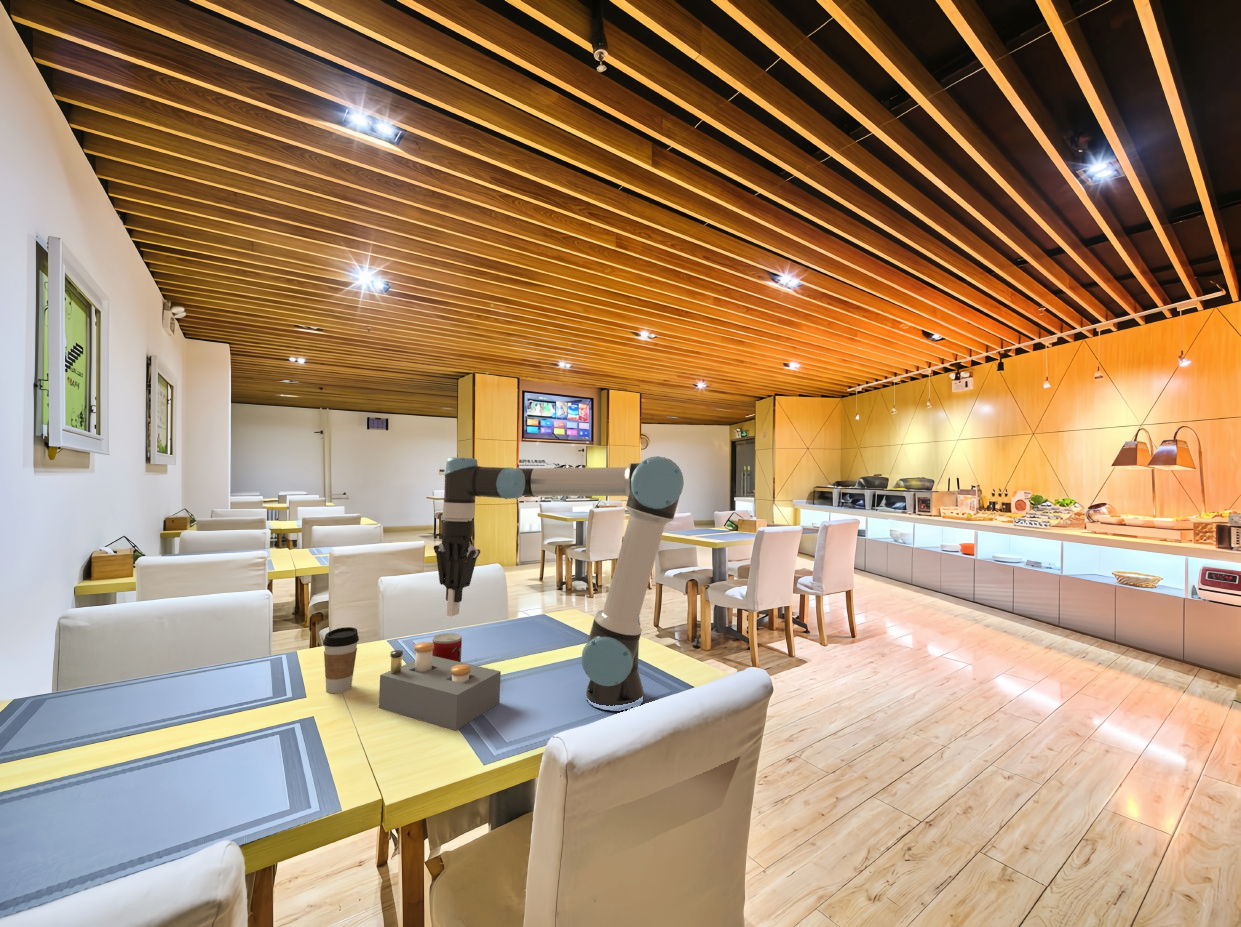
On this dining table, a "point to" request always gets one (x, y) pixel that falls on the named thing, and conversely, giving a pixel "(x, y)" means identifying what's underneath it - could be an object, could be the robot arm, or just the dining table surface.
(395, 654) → the small capped vial
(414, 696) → the grey vial rack
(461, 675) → the knob
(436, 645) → the canned food
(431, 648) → the knob
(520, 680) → the dining table surface
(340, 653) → the coffee cup
